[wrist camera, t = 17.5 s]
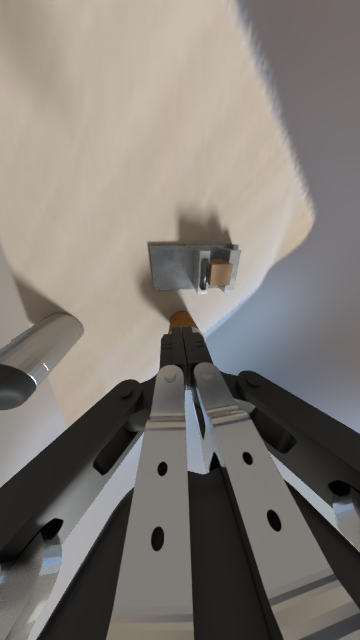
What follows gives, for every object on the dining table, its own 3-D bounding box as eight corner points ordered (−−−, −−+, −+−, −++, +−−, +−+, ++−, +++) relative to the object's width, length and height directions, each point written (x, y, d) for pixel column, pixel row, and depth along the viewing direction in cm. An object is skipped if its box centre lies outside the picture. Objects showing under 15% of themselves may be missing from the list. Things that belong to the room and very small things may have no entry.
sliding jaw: (193, 285, 35) (198, 296, 29) (194, 249, 31) (201, 251, 25) (200, 285, 36) (208, 295, 29) (203, 248, 31) (212, 251, 25)
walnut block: (201, 276, 35) (210, 286, 28) (202, 259, 32) (212, 264, 26) (217, 275, 35) (229, 285, 28) (219, 258, 33) (233, 264, 26)
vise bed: (154, 289, 36) (152, 299, 30) (149, 245, 31) (145, 247, 25) (225, 286, 37) (236, 295, 31) (232, 244, 32) (247, 245, 26)
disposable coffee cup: (168, 335, 44) (168, 365, 34) (162, 308, 39) (161, 334, 29) (197, 330, 44) (207, 359, 34) (195, 303, 39) (206, 327, 29)
